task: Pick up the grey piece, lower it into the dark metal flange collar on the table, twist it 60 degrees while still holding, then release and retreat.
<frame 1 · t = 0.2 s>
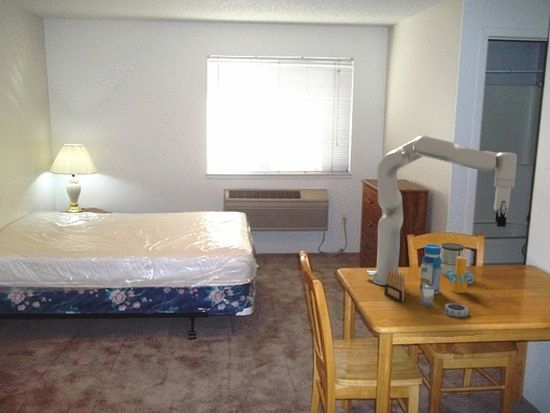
hand: (500, 224, 210), 31 cm above the table, fingers open, 9 cm apart
duct flange: (455, 313, 196), on the table
grey piece: (426, 304, 204), on the table
ammunition clip: (394, 299, 211), on the table
blue lidded canister: (429, 291, 220), on the table
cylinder: (458, 291, 221), on the table
coffee can: (450, 274, 244), on the table
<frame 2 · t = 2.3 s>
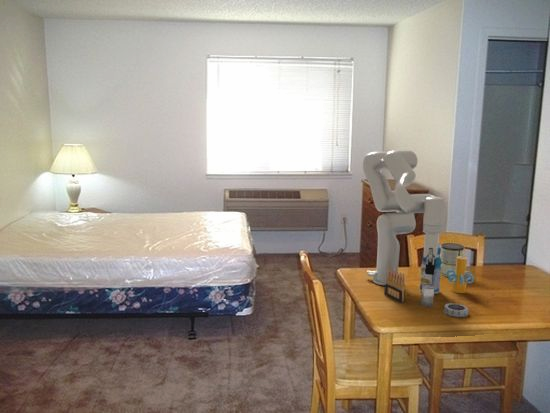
hand: (430, 271, 201), 14 cm above the table, fingers open, 9 cm apart
nothing on the table moved.
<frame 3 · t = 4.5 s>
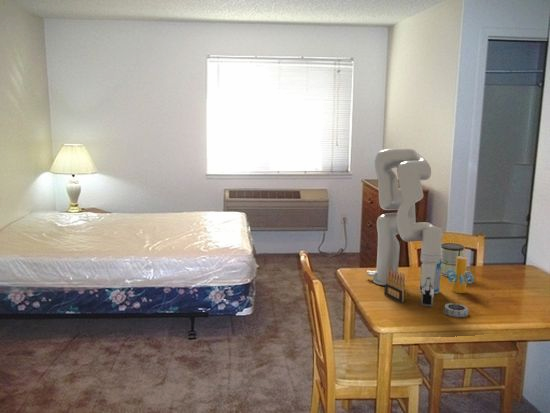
hand: (427, 301, 204), 1 cm above the table, fingers closed on grey piece, 4 cm apart
grey piece: (426, 304, 204), on the table, touching gripper
everything else where it was.
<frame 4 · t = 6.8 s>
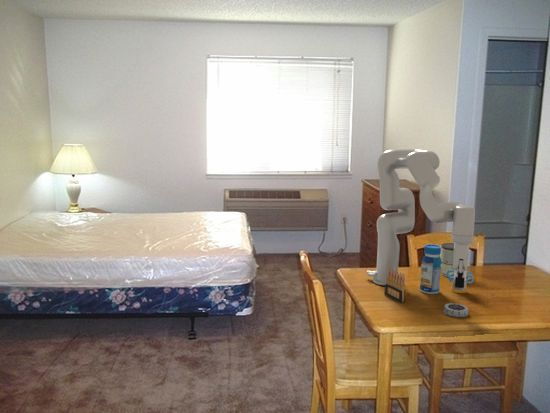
hand: (459, 285, 194), 11 cm above the table, fingers closed on grey piece, 4 cm apart
grey piece: (459, 288, 194), point 10 cm above the table, touching gripper
everything else where it was.
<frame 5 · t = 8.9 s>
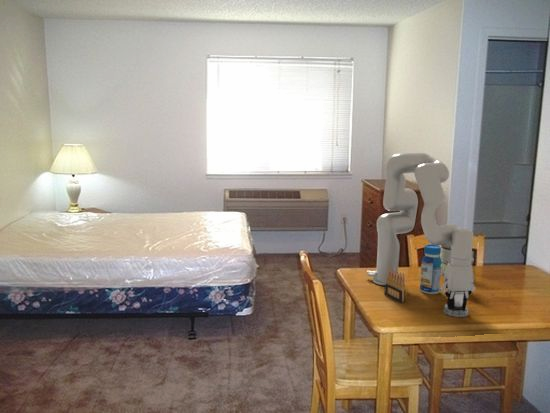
hand: (456, 306, 196), 3 cm above the table, fingers closed on grey piece, 4 cm apart
grey piece: (456, 310, 196), point 1 cm above the table, touching gripper
everything else where it was.
when the fingers open (3 cm above the table, at t = 9.6 s): grey piece stays where it is, resting on duct flange.
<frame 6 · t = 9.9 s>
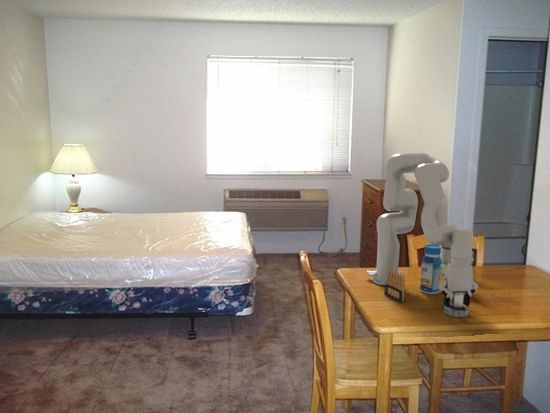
hand: (456, 305, 196), 3 cm above the table, fingers open, 7 cm apart
grey piece: (456, 311, 196), point 1 cm above the table, touching duct flange
everything else where it was.
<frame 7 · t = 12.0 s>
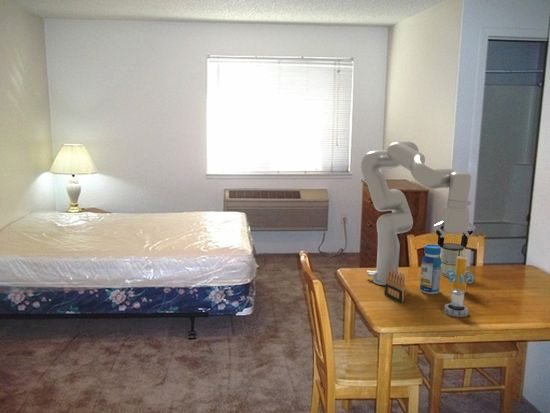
hand: (452, 246, 201), 24 cm above the table, fingers open, 9 cm apart
nothing on the table moved.
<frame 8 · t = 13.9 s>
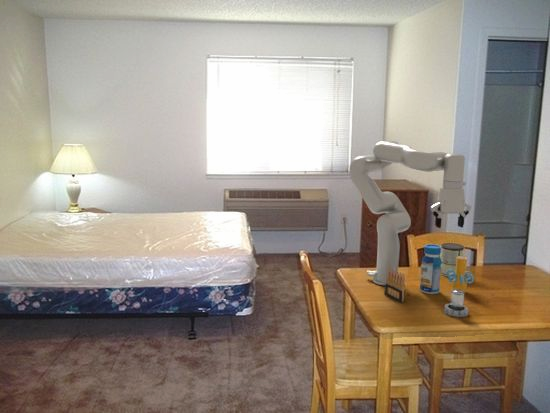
hand: (449, 227, 206), 30 cm above the table, fingers open, 9 cm apart
nothing on the table moved.
at the end: grey piece 0.1 cm from the duct flange (horizontally); grey piece point 0.8 cm above the table; grey piece tilted 0° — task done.
